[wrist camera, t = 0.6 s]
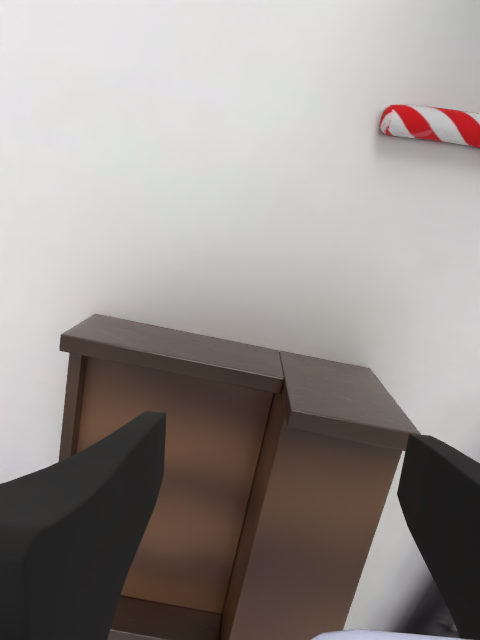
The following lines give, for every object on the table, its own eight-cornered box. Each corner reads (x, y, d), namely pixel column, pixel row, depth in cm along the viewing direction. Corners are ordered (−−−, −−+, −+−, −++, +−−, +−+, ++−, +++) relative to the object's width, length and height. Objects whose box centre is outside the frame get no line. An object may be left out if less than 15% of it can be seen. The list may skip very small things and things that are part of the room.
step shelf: (299, 609, 26) (315, 748, 19) (65, 565, 26) (-2, 690, 19) (370, 368, 22) (423, 435, 15) (94, 313, 22) (22, 356, 15)
